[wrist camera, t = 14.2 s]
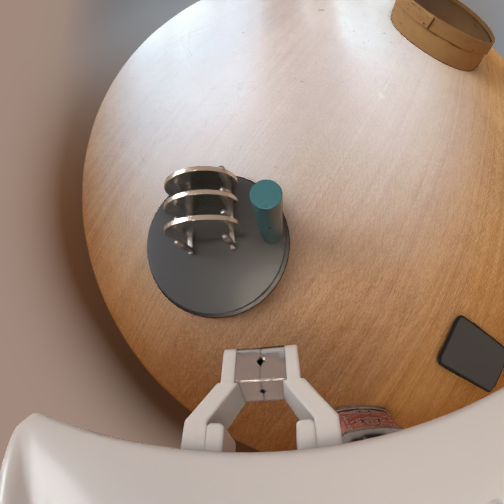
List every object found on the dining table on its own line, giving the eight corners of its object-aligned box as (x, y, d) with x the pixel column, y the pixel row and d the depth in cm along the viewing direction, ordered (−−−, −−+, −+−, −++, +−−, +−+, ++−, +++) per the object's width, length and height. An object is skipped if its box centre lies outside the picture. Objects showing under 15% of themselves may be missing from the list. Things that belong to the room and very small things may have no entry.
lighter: (325, 427, 29) (339, 468, 19) (330, 404, 29) (347, 440, 20) (383, 426, 28) (411, 461, 18) (389, 404, 28) (421, 434, 18)
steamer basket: (423, 64, 37) (440, 26, 26) (372, 5, 42) (378, -28, 31) (494, 79, 35) (512, 53, 24) (443, 19, 40) (454, -6, 29)
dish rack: (292, 307, 31) (300, 310, 18) (153, 316, 32) (89, 320, 20) (276, 169, 34) (272, 104, 22) (151, 188, 36) (100, 142, 23)
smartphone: (491, 394, 25) (437, 363, 27) (488, 393, 26) (433, 362, 28) (510, 350, 26) (460, 312, 28) (507, 350, 27) (456, 312, 29)
